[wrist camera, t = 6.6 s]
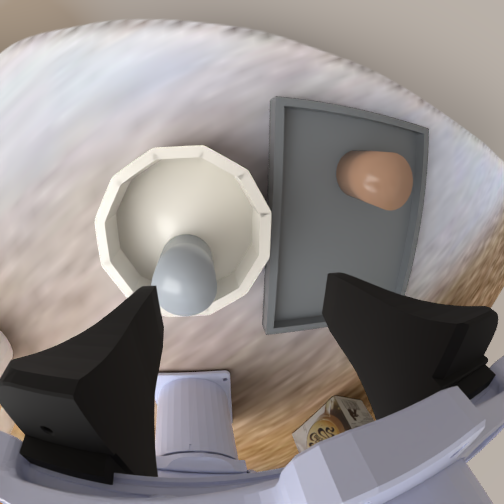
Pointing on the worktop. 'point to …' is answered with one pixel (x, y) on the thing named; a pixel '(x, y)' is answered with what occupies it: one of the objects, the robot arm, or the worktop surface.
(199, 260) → the grey rounded cylinder
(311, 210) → the tray
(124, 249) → the bowl
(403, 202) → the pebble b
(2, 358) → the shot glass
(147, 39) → the worktop surface
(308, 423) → the coffee box
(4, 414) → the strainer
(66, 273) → the worktop surface
